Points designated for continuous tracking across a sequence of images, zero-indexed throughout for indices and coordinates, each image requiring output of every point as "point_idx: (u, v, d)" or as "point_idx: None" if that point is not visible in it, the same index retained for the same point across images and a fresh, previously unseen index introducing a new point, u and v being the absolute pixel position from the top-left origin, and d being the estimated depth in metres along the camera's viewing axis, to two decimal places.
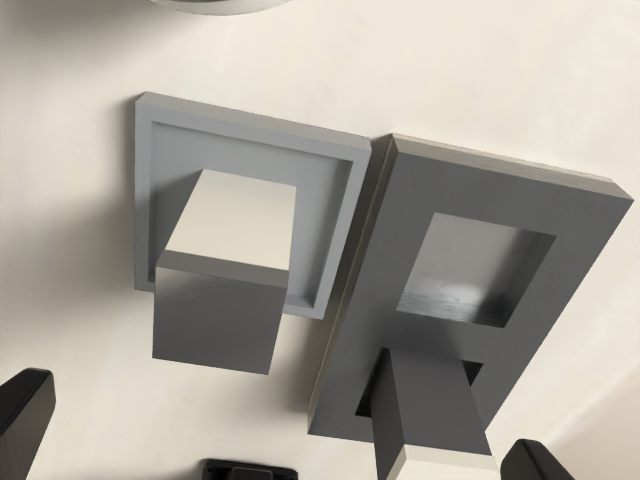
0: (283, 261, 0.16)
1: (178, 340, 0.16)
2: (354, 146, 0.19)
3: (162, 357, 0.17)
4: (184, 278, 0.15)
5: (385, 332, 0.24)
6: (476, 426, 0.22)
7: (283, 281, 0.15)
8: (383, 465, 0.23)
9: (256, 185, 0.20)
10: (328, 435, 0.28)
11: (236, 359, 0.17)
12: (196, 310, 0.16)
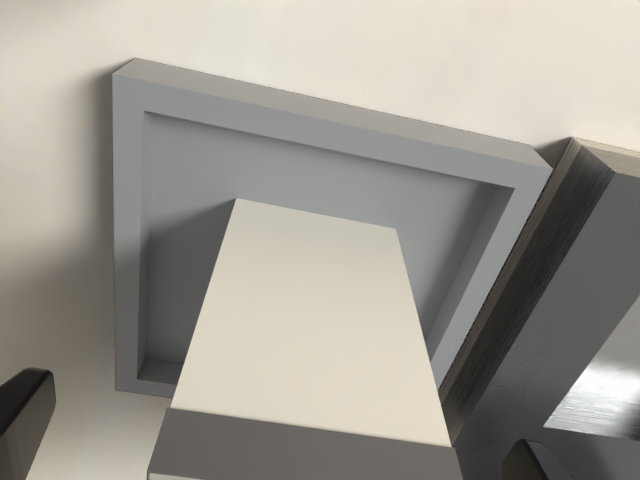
0: (432, 417, 0.07)
1: None
2: (520, 161, 0.10)
3: None
4: None
5: None
6: None
7: None
8: None
9: (330, 229, 0.11)
10: None
11: None
12: None
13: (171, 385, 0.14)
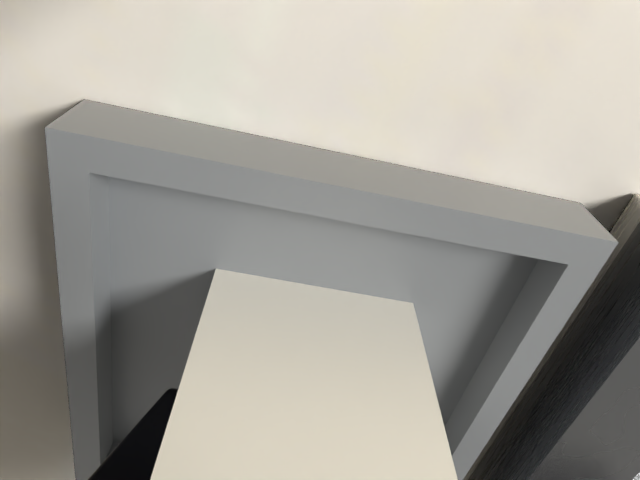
0: None
1: None
2: (577, 232, 0.08)
3: None
4: None
5: None
6: None
7: None
8: None
9: (333, 310, 0.09)
10: None
11: None
12: None
13: None
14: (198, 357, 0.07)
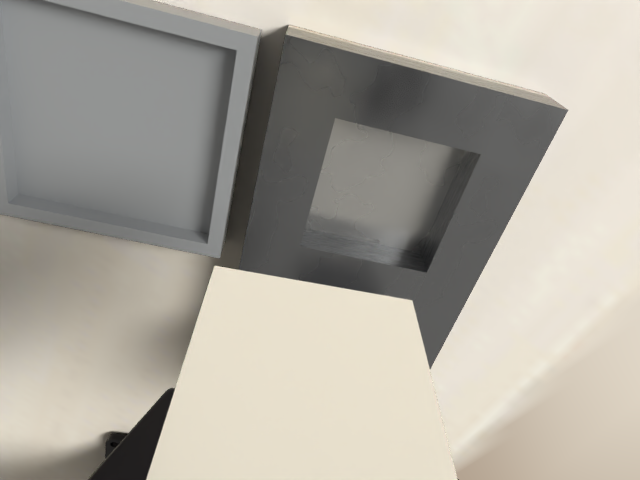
0: None
1: None
2: (237, 31, 0.16)
3: None
4: None
5: (290, 274, 0.20)
6: None
7: None
8: None
9: (332, 307, 0.09)
10: None
11: None
12: None
13: (33, 209, 0.19)
14: (196, 354, 0.07)
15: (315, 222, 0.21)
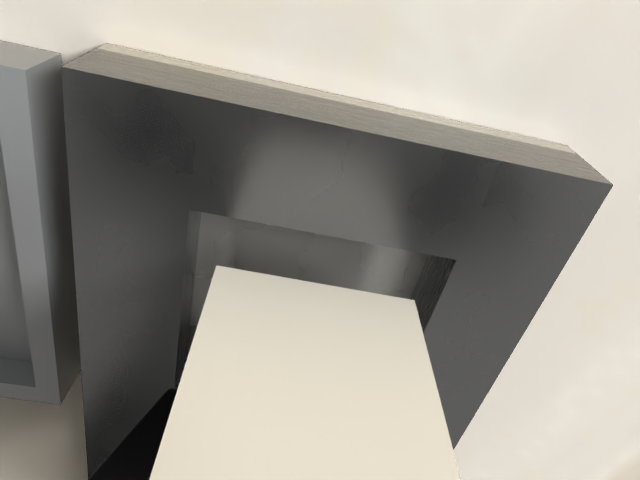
0: None
1: None
2: None
3: None
4: None
5: None
6: None
7: None
8: None
9: (334, 307, 0.09)
10: None
11: None
12: None
13: None
14: (198, 354, 0.07)
15: None
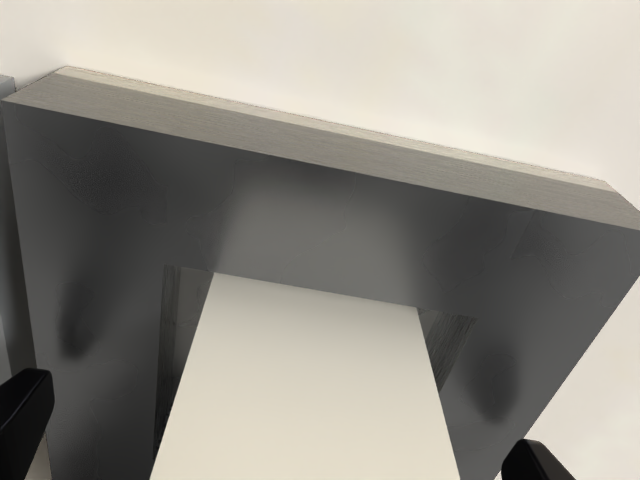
0: None
1: None
2: None
3: None
4: None
5: None
6: None
7: None
8: None
9: (333, 294, 0.09)
10: None
11: None
12: None
13: None
14: (204, 336, 0.08)
15: None
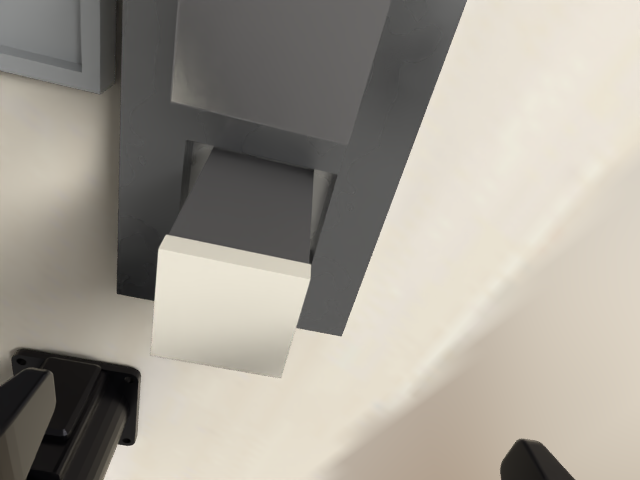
0: None
1: (214, 63, 0.10)
2: None
3: (184, 104, 0.11)
4: None
5: (186, 111, 0.16)
6: (300, 235, 0.15)
7: None
8: None
9: None
10: (146, 297, 0.21)
11: (303, 110, 0.11)
12: None
13: None
14: None
15: None
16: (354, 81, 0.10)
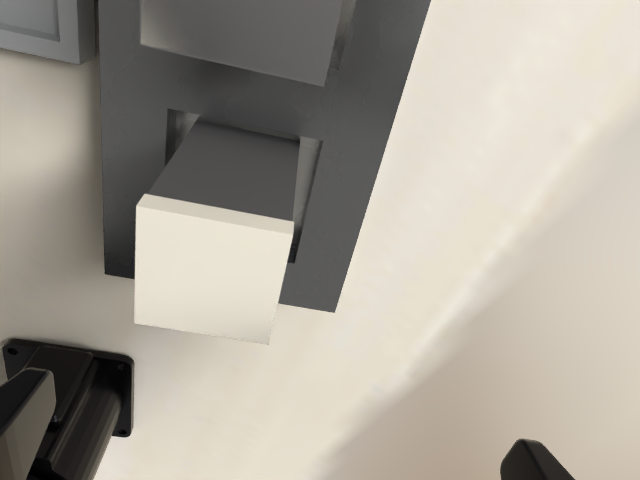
0: None
1: (183, 1, 0.10)
2: None
3: (155, 47, 0.10)
4: None
5: (166, 77, 0.16)
6: (284, 196, 0.15)
7: None
8: None
9: None
10: (134, 276, 0.20)
11: (275, 49, 0.10)
12: None
13: None
14: None
15: None
16: (326, 16, 0.10)
